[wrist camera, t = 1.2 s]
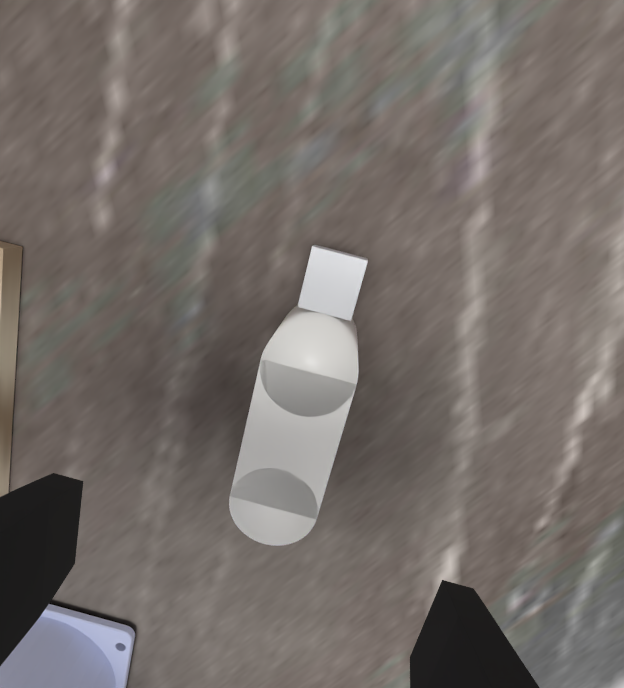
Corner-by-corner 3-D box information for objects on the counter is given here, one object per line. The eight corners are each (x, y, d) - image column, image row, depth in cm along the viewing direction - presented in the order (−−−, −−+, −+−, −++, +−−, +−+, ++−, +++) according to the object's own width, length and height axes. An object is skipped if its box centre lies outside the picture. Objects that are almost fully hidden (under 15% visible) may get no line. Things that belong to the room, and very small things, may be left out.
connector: (315, 487, 19) (305, 555, 15) (247, 469, 19) (221, 532, 16) (381, 258, 16) (390, 271, 13) (302, 237, 16) (286, 244, 13)
